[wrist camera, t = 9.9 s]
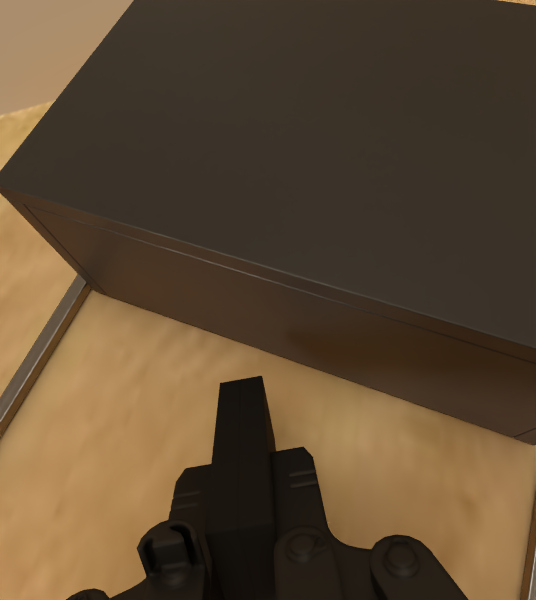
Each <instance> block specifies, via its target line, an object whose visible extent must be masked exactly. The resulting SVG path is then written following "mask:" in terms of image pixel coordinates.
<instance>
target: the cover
mask: <svg viewBox="0 0 536 600" xmlns="http://www.w3.org/2000/svg"><path fill="white" fill-rule="evenodd" d="M0 193H1V194H2V195H3V196H4V197H5V198H7V200H8V201H9V202H10V203H11V204H12V205H13V206H14V207H15V208H16V210H17V211H18V212H19V213H20V214H21V215H22V216H23V217H24V218H25V219H26V220H27V221H28V222H29V223H30V224H31V225H32V226H33V227H34V228H35V229H36V230H37V231H38V232H39V233H40V235H41V236H42V237H43V238H44V239H45V240H46V241H47V242H48V243H49V244H50V245H51V246H52V247H53V248H54V249H55V250H56V251H57V252H58V253H59V254H60V255H61V256H62V257H63V258H64V260H65V261H66V262H67V263H68V264H69V265H70V266H71V267H72V268H73V269H74V270H75V271H76V272H77V273H78V274H79V275H80V276H81V277H82V278H83V279H84V280H85V281H86V282H87V283H88V285H89V286H90V287H91V288H92V289H93V290H94V291H96V292H99V293H102V294H104V295H108V296H110V297H113V298H116V299H119V300H122V301H125V302H127V303H130V304H133V305H136V306H139V307H142V308H145V309H147V310H150V311H153V312H156V313H159V314H162V315H165V316H167V317H170V318H173V319H176V320H179V321H182V322H185V323H187V324H190V325H193V326H196V327H199V328H202V329H204V330H207V331H210V332H213V333H216V334H219V335H222V336H224V337H227V338H230V339H233V340H236V341H239V342H242V343H244V344H247V345H250V346H253V347H256V348H259V349H262V350H264V351H267V352H270V353H273V354H276V355H279V356H282V357H284V358H287V359H290V360H293V361H296V362H299V363H302V364H304V365H307V366H310V367H313V368H316V369H319V370H322V371H324V372H327V373H330V374H333V375H336V376H339V377H342V378H344V379H347V380H350V381H353V382H356V383H359V384H362V385H364V386H367V387H370V388H373V389H376V390H379V391H382V392H384V393H387V394H390V395H393V396H396V397H399V398H401V399H404V400H407V401H410V402H413V403H416V404H419V405H421V406H424V407H427V408H430V409H433V410H436V411H439V412H441V413H444V414H447V415H450V416H453V417H456V418H459V419H461V420H464V421H467V422H470V423H473V424H476V425H479V426H481V427H484V428H487V429H490V430H493V431H496V432H499V433H501V434H504V435H507V436H510V437H514V438H515V439H518V440H521V441H523V442H526V443H529V444H532V445H536V6H535V5H527V4H520V3H513V2H506V1H498V0H134V1H133V2H132V4H131V5H130V6H129V7H128V9H127V10H126V11H125V12H124V14H123V15H122V16H121V18H120V19H119V20H118V22H117V23H116V24H115V25H114V26H113V28H112V29H111V30H110V32H109V33H108V34H107V35H106V37H105V38H104V39H103V41H102V42H101V43H100V44H99V46H98V47H97V48H96V50H95V51H94V52H93V53H92V55H91V56H90V57H89V58H88V60H87V61H86V62H85V64H84V65H83V66H82V67H81V69H80V70H79V72H78V73H77V74H76V75H75V77H74V78H73V79H72V80H71V81H70V83H69V84H68V85H67V87H66V88H65V89H64V90H63V92H62V93H61V94H60V96H59V97H58V98H57V99H56V101H55V102H54V103H53V104H52V106H51V107H50V108H49V110H48V111H47V112H46V113H45V115H44V116H43V117H42V119H41V120H40V121H39V122H38V124H37V125H36V126H35V128H34V129H33V130H32V131H31V133H30V134H29V135H28V136H27V138H26V139H25V140H24V142H23V143H22V144H21V145H20V147H19V148H18V149H17V151H16V152H15V153H14V154H13V156H12V157H11V158H10V159H9V161H8V162H7V163H6V165H5V166H4V167H3V168H2V170H1V171H0Z"/></svg>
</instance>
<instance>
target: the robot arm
mask: <svg viewBox="0 0 536 600" xmlns="http://www.w3.org/2000/svg"><path fill="white" fill-rule="evenodd" d="M137 550H138V553H139V556H140V559H141V561H142V564H143V567H144V570H145V573H146V576H147V577H146V579H144V580H143V581H142V582H141V583H139V584H138V585H136V586H134V587H132V588H131V589H129V590H126V591H124V592H122V593H120V594H118V595H116V596H114V597H112V598H109V597H108V596H107V595H106V594H105V592H104V591H101V590H98V589H88V590H83V591H80V592H78V593H76V594H74V595H72V596H70V597H69V598H68V599H66V600H468V598H467V597H466V596H465V595H464V593H463V592H462V591H461V589H460V588H459V587H458V586H457V584H456V583H455V582H454V580H453V579H452V578H451V577H450V575H449V574H448V573H447V571H446V570H445V569H444V568H443V566H442V565H441V564H440V562H439V561H438V560H437V559H436V557H435V556H434V555H433V553H432V552H431V551H430V550H429V549H428V548H427V547H426V546H425V545H424V544H423V543H422V542H421V541H419V540H417V539H414V538H412V537H410V536H404V535H392V536H387V537H384V538H383V539H381V540H380V541H378V542H376V543H375V545H374V546H373V548H372V549H363V548H356V547H352V546H348V545H346V544H344V543H342V542H340V541H339V540H338V539H337V538H335V537H334V536H333V534H332V533H331V532H330V530H329V527H328V525H327V521H326V516H325V511H324V507H323V502H322V497H321V493H320V488H319V484H318V479H317V474H316V470H315V465H314V460H313V457H312V456H311V454H310V453H309V452H308V451H307V450H306V449H305V448H304V447H299V448H293V449H287V450H282V451H276V447H275V439H274V434H273V429H272V424H271V419H270V414H269V409H268V403H267V398H266V393H265V388H264V383H263V378H262V376H258V377H252V378H246V379H241V380H235V381H229V382H224V383H220V389H219V398H218V408H217V417H216V427H215V436H214V446H213V455H212V464H208V465H203V466H197V467H191V468H186V469H185V470H184V471H183V473H182V474H181V476H180V477H179V479H178V480H177V481H176V485H175V490H174V495H173V500H172V504H171V511H170V514H169V519H168V520H167V521H164V522H161V523H159V524H157V525H156V526H154V527H153V528H151V529H150V530H149V531H148V532H147V533H146V534H145V535H144V536H143V537H142V538H141V540H140V543H139V545H138V547H137Z"/></svg>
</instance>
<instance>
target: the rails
mask: <svg viewBox="0 0 536 600" xmlns="http://www.w3.org/2000/svg"><path fill="white" fill-rule="evenodd" d="M90 289H91V287H90V286H89V285H88V283H87V282H86V281H85V280H84V279H83V278H82V277H81V276H80V275H79V274H78V275H77V276H76V278H75V279H74V281H73V283H72V284H71V286H70V287H69V289H68V290H67V292H66V294H65V295H64V297H63V298H62V300H61V302H60V303H59V305H58V306H57V308H56V310H55V311H54V313H53V314H52V316H51V318H50V319H49V321H48V322H47V324H46V326H45V327H44V329H43V330H42V332H41V333H40V335H39V337H38V338H37V340H36V341H35V343H34V345H33V346H32V348H31V349H30V351H29V353H28V354H27V356H26V357H25V359H24V361H23V362H22V364H21V365H20V367H19V369H18V370H17V372H16V373H15V375H14V376H13V378H12V380H11V381H10V383H9V384H8V386H7V388H6V389H5V391H4V392H3V394H2V396H1V397H0V438H1V436H2V434H3V433H4V431H5V429H6V428H7V426H8V425H9V423H10V421H11V420H12V418H13V416H14V415H15V413H16V411H17V410H18V408H19V406H20V405H21V403H22V401H23V400H24V398H25V396H26V395H27V393H28V392H29V390H30V388H31V387H32V385H33V383H34V382H35V380H36V378H37V377H38V375H39V373H40V372H41V370H42V368H43V367H44V365H45V364H46V362H47V360H48V359H49V357H50V355H51V354H52V352H53V350H54V349H55V347H56V345H57V344H58V342H59V340H60V339H61V337H62V336H63V334H64V332H65V331H66V329H67V327H68V326H69V324H70V322H71V321H72V319H73V317H74V316H75V314H76V312H77V311H78V309H79V307H80V306H81V304H82V303H83V301H84V299H85V298H86V296H87V294H88V293H89V291H90ZM520 600H536V498H535V505H534V511H533V518H532V525H531V532H530V538H529V545H528V552H527V558H526V565H525V572H524V578H523V585H522V592H521V598H520Z"/></svg>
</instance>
